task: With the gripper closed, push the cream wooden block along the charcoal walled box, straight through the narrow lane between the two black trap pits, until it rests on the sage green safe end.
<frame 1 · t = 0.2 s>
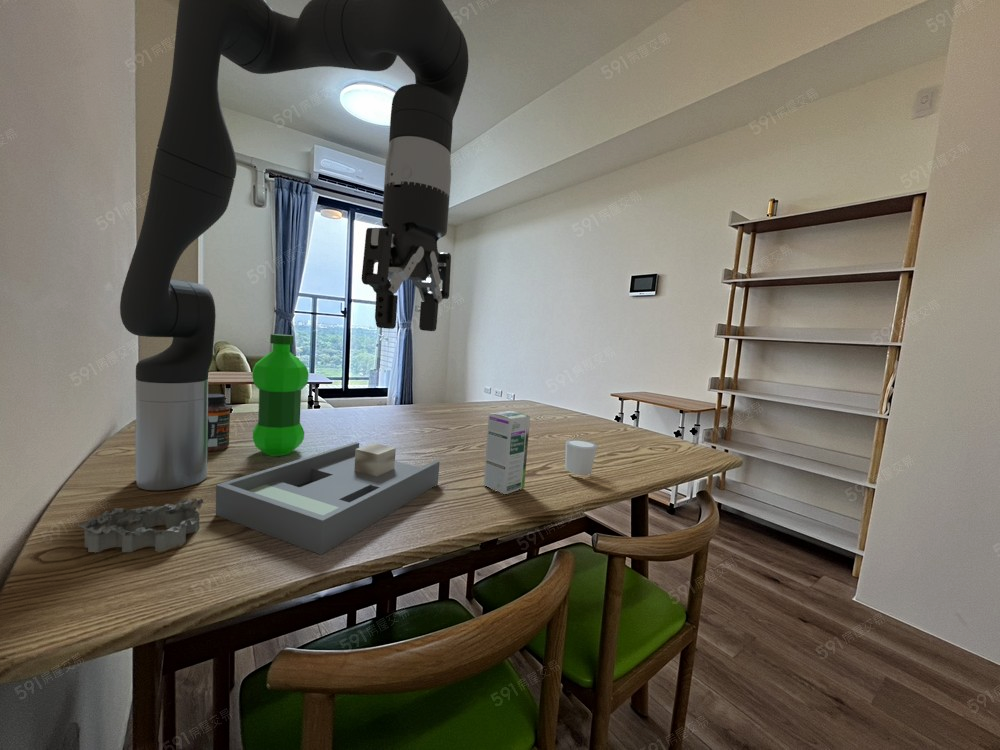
hand: (408, 329, 49), 29 cm above the table, tool pointing down, fingers open, 8 cm apart
supplement bottle: (212, 449, 85), on the table
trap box: (341, 497, 67), on the table
block: (374, 469, 74), point 2 cm above the table, touching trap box
plastic bottle: (278, 453, 87), on the table
syrup box: (503, 488, 78), on the table
white cylinder: (577, 474, 90), on the table
grey cookie cutter: (144, 541, 51), on the table
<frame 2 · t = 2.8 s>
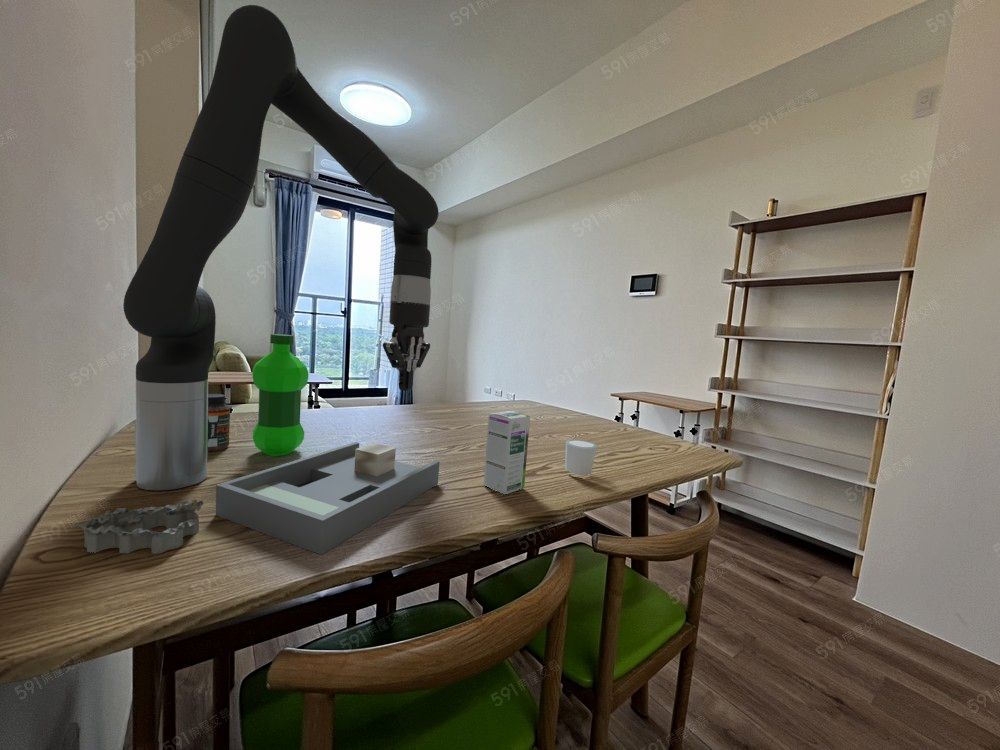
hand: (405, 389, 80), 17 cm above the table, tool pointing down, fingers closed
nothing on the table moved.
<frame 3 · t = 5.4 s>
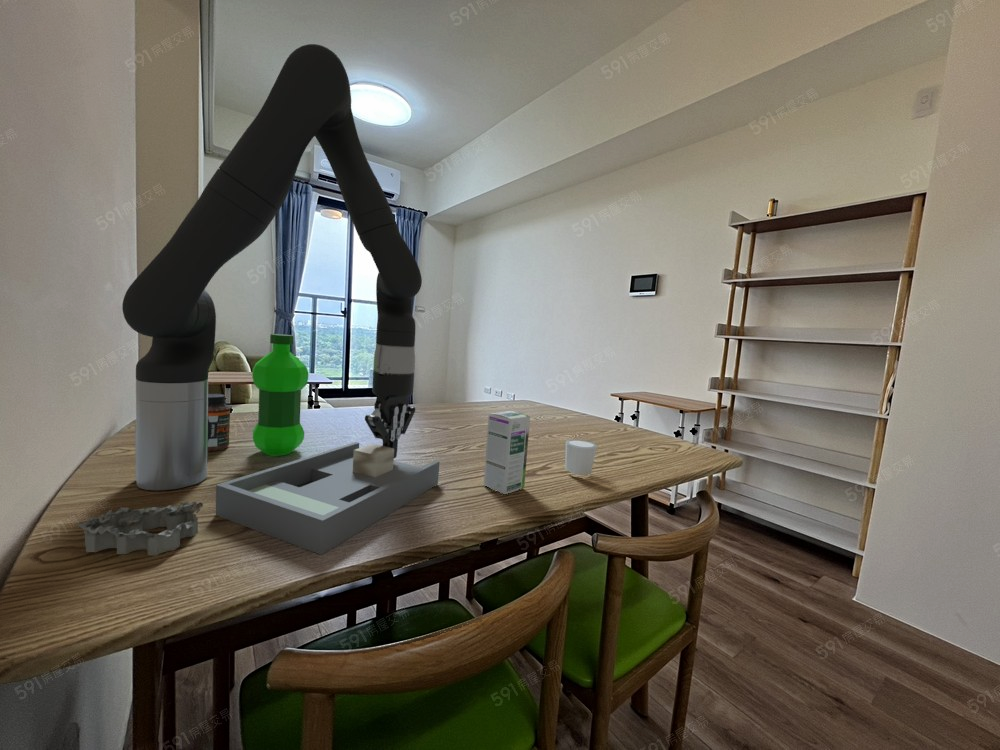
hand: (389, 458, 78), 4 cm above the table, tool pointing down, fingers closed
block: (373, 470, 74), point 3 cm above the table, touching gripper
everything else where it was.
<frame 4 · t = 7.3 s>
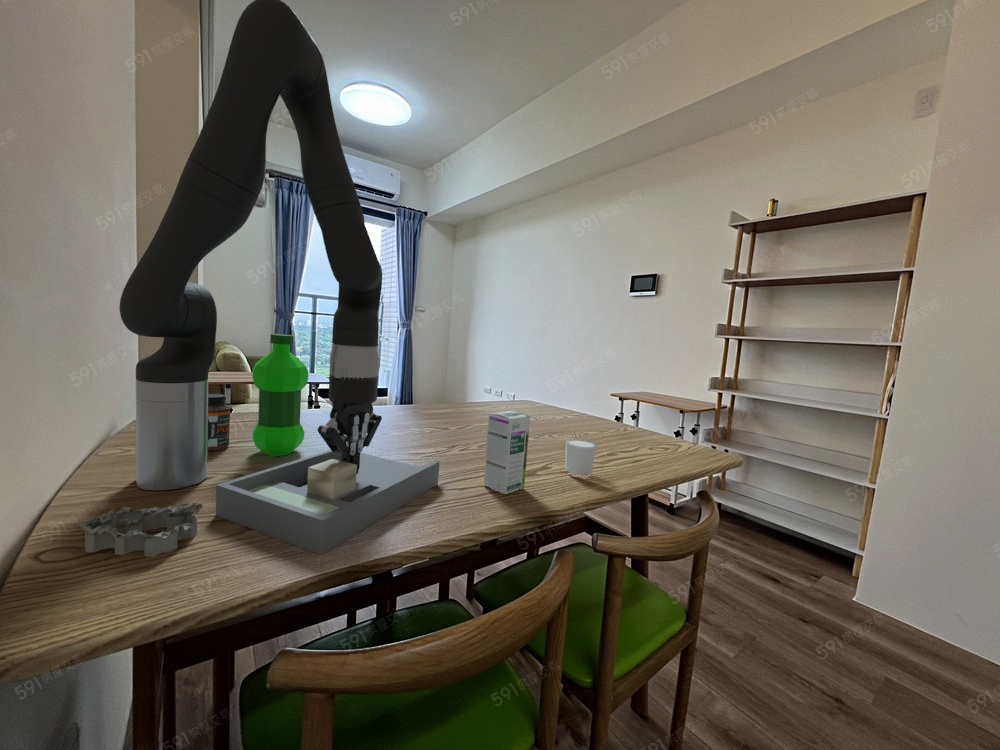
hand: (350, 474, 68), 4 cm above the table, tool pointing down, fingers closed
block: (331, 490, 64), point 3 cm above the table, touching gripper
everything else where it was.
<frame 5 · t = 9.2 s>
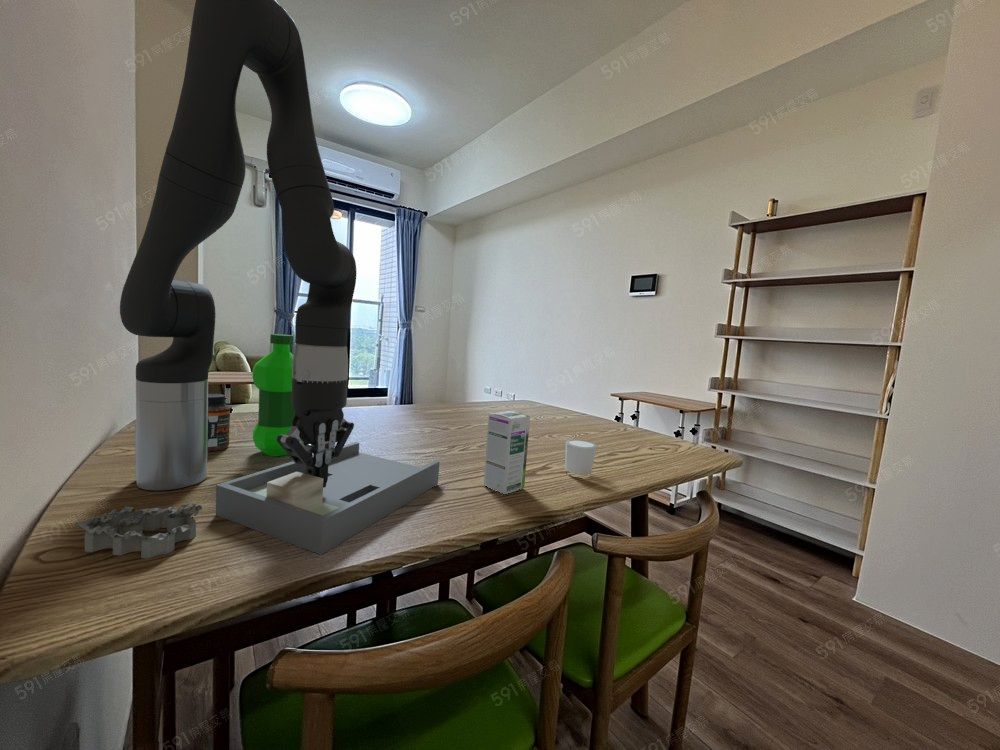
hand: (316, 488, 62), 4 cm above the table, tool pointing down, fingers closed
block: (294, 507, 57), point 2 cm above the table, touching gripper, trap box
everything else where it was.
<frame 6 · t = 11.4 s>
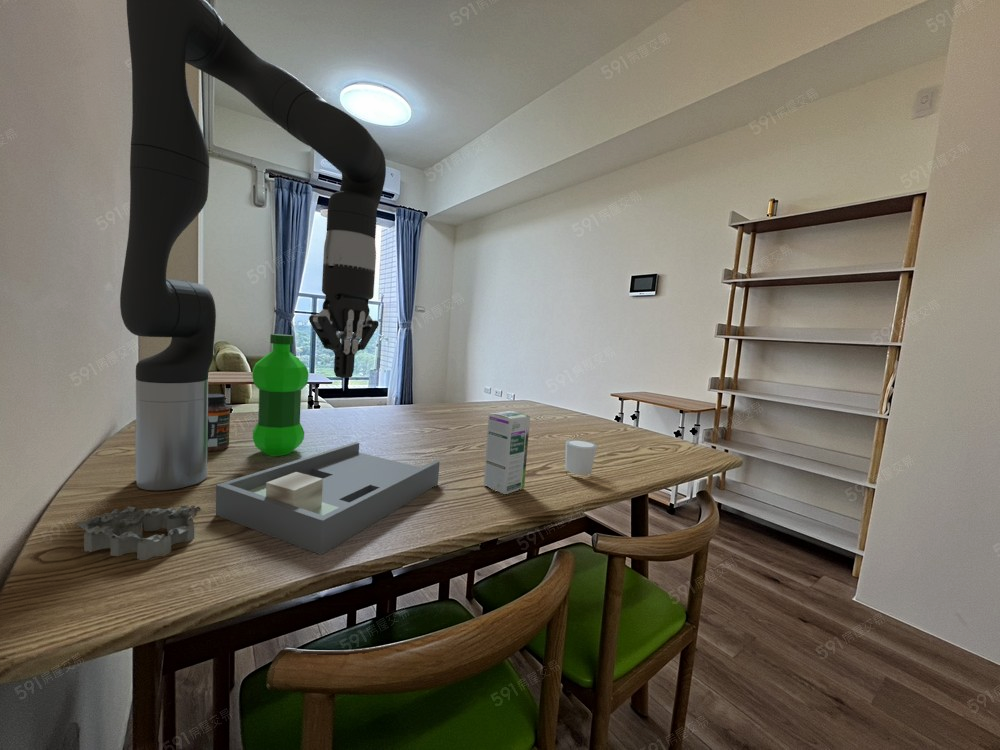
hand: (343, 377, 64), 20 cm above the table, tool pointing down, fingers closed
block: (294, 507, 57), point 2 cm above the table, touching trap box
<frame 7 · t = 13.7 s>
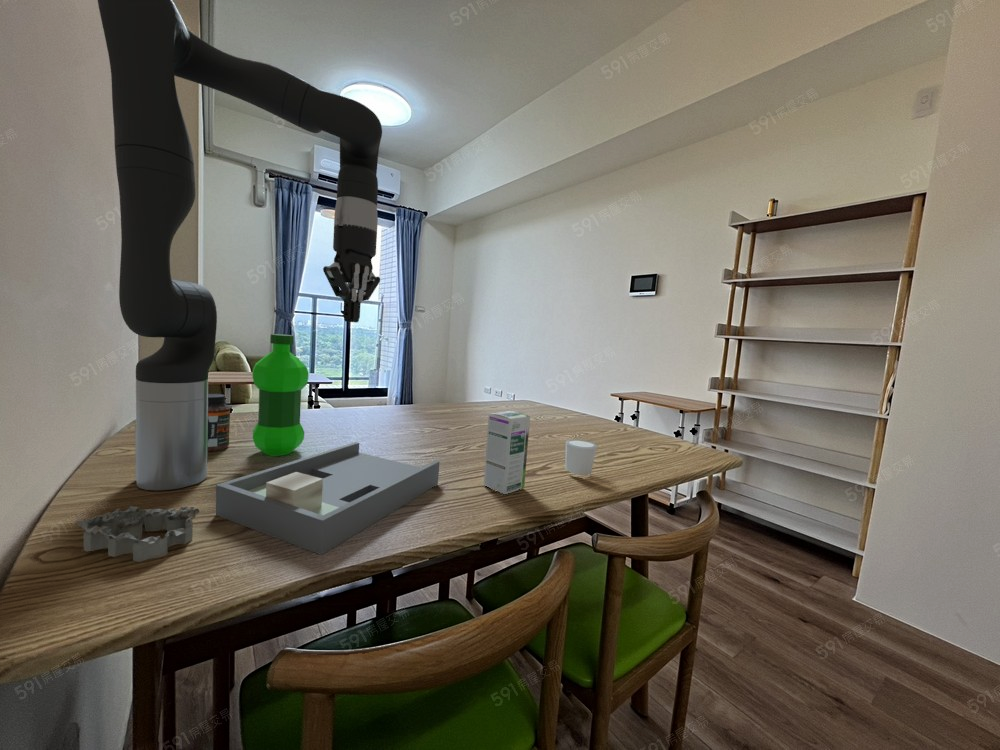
hand: (351, 321, 77), 29 cm above the table, tool pointing down, fingers closed
at the end: block 1.3 cm from the target spot on the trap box, point 2.5 cm above the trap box's base; block tilted 0° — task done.
